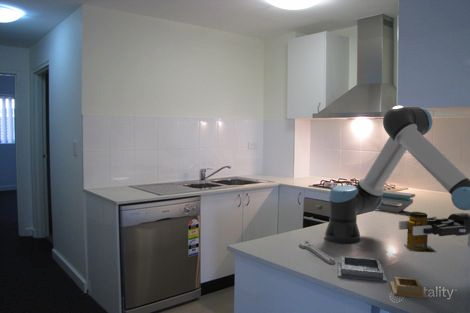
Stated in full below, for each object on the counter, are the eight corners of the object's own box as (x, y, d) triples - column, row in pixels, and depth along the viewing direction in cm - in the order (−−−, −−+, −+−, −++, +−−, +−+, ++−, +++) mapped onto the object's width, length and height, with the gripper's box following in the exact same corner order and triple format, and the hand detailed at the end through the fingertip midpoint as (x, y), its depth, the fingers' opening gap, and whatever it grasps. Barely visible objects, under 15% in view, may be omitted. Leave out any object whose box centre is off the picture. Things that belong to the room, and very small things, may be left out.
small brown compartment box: (390, 283, 120) (390, 275, 120) (420, 286, 118) (421, 278, 118) (393, 295, 112) (394, 286, 112) (427, 298, 109) (427, 290, 109)
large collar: (338, 261, 140) (338, 254, 139) (381, 265, 136) (381, 258, 135) (338, 277, 125) (338, 269, 125) (386, 282, 121) (386, 274, 121)
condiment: (403, 244, 129) (404, 210, 127) (429, 246, 127) (431, 211, 126) (409, 251, 121) (410, 215, 120) (437, 253, 120) (439, 216, 119)
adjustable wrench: (337, 265, 138) (337, 260, 137) (320, 266, 136) (320, 261, 136) (311, 244, 162) (311, 240, 162) (297, 244, 161) (297, 240, 161)
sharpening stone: (367, 207, 233) (368, 190, 233) (373, 206, 239) (373, 189, 238) (409, 214, 216) (410, 195, 215) (414, 212, 221) (415, 194, 220)
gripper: (488, 243, 120) (427, 248, 114) (442, 227, 138) (387, 231, 132) (490, 220, 119) (428, 224, 113) (443, 207, 137) (388, 210, 132)
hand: (406, 228), depth 123 cm, fingers closed on condiment, 6 cm apart
